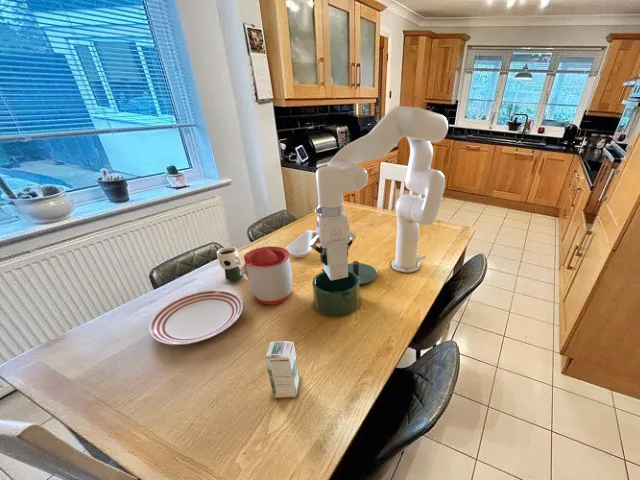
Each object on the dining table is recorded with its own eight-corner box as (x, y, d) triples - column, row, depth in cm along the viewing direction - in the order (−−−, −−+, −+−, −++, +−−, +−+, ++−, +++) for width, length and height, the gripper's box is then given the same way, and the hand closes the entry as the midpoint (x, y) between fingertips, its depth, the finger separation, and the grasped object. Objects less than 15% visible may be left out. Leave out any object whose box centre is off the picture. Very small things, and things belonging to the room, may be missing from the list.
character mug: (217, 281, 122) (208, 252, 115) (230, 272, 128) (222, 244, 121) (239, 286, 119) (231, 257, 112) (251, 278, 125) (244, 249, 118)
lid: (364, 262, 139) (364, 249, 136) (384, 279, 127) (384, 266, 124) (329, 270, 132) (328, 258, 128) (346, 290, 120) (345, 277, 116)
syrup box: (278, 380, 83) (268, 341, 75) (300, 379, 83) (293, 340, 75) (273, 398, 78) (263, 358, 70) (297, 397, 78) (289, 357, 70)
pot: (345, 282, 124) (344, 262, 119) (370, 311, 109) (370, 289, 104) (306, 293, 117) (303, 272, 112) (328, 326, 102) (326, 303, 96)
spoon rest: (306, 262, 137) (304, 248, 133) (282, 259, 139) (280, 244, 135) (326, 240, 157) (325, 227, 153) (304, 238, 158) (303, 225, 154)
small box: (348, 277, 104) (347, 242, 97) (330, 281, 101) (328, 245, 94) (340, 266, 110) (339, 232, 103) (323, 269, 107) (320, 235, 100)
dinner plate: (198, 361, 87) (195, 352, 86) (130, 336, 95) (126, 328, 93) (262, 307, 109) (260, 299, 107) (202, 290, 116) (200, 283, 115)
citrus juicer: (246, 289, 118) (234, 242, 107) (292, 281, 123) (285, 236, 112) (247, 313, 106) (233, 263, 95) (298, 303, 112) (291, 255, 100)
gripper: (308, 218, 87) (314, 272, 97) (362, 209, 95) (362, 260, 105) (299, 210, 92) (306, 262, 102) (351, 202, 100) (353, 251, 110)
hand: (334, 260), depth 103 cm, fingers closed on small box, 6 cm apart
